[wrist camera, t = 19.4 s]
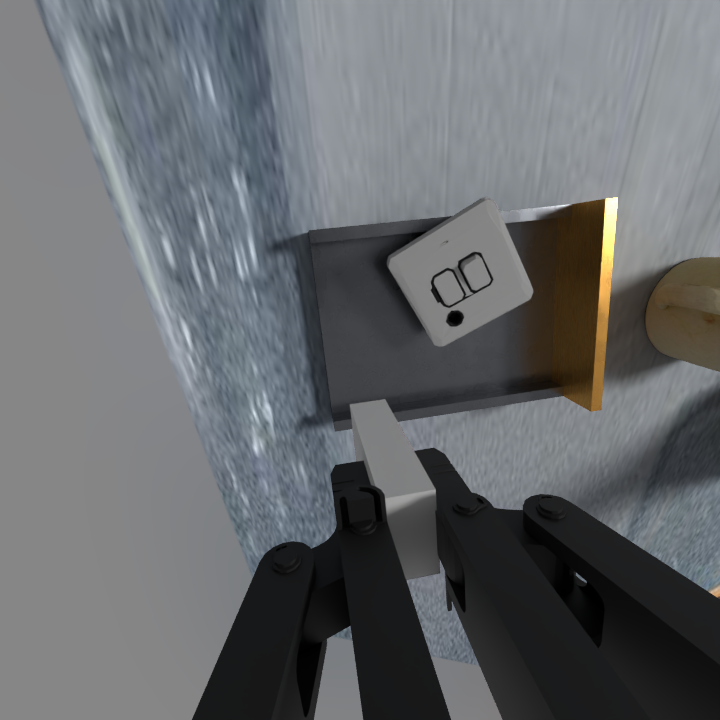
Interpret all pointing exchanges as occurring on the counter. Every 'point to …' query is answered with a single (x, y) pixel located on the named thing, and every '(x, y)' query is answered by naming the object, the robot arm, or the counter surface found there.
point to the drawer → (481, 346)
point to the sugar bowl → (687, 313)
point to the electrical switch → (461, 273)
